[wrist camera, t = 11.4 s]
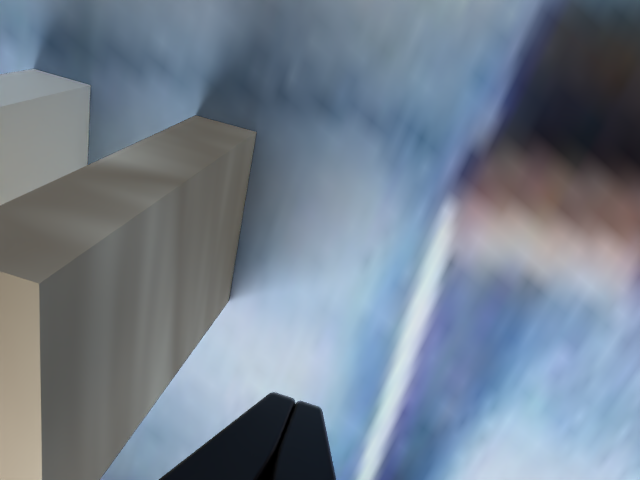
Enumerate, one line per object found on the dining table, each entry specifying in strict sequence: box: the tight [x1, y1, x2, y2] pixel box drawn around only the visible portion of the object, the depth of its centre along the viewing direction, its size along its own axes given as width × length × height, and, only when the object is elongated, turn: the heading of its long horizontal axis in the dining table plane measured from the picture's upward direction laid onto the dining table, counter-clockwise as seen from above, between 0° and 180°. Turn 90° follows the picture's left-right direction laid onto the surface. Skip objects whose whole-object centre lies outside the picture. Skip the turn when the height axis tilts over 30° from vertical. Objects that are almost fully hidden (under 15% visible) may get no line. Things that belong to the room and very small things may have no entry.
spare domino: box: [0, 115, 256, 480], centre depth 11 cm, size 2×5×8 cm, turn 168°
